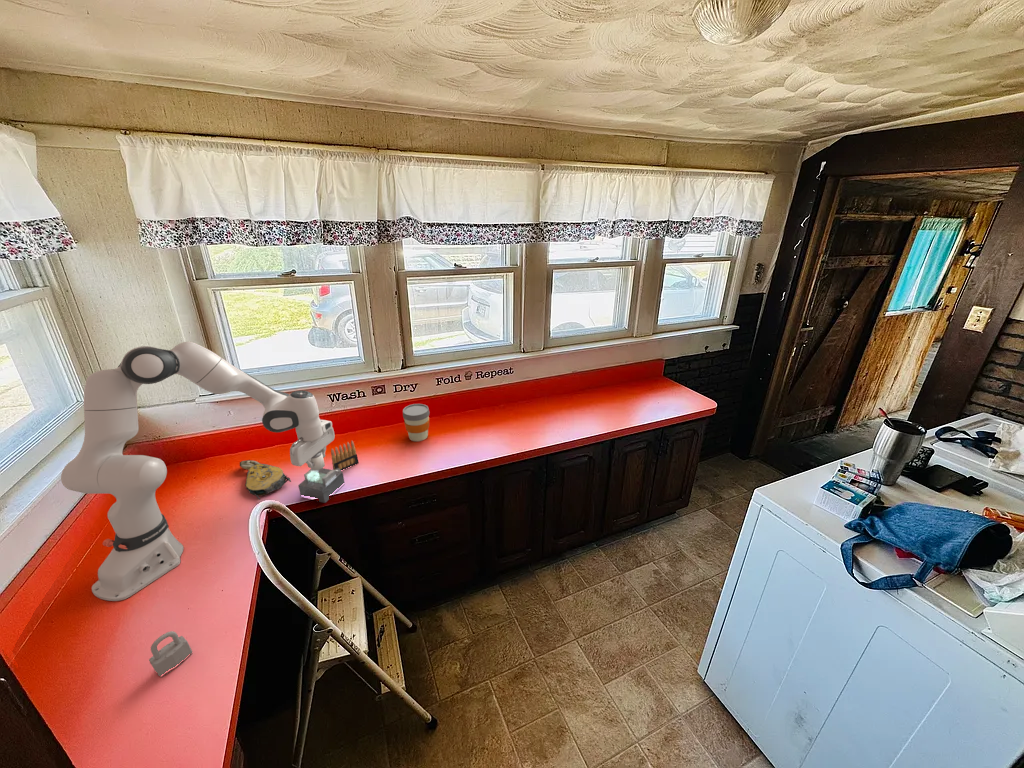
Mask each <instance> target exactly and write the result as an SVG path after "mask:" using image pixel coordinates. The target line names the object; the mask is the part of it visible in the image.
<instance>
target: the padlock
mask: <svg viewBox="0 0 1024 768" xmlns="http://www.w3.org/2000/svg"><path fill="white" fill-rule="evenodd" d="M169 637H171V638H172V641H171V642H169V643H167V644H166V645H164V646H163V647H162V648H160V649H158V645H159V644H160V643H162V642H163V641H164V640H165V639H168V638H169ZM150 646H151V647H150V652H151V654H152V656H151V657H150V658H148V661H149V664H150V665H151V666H152V668H153V670H154V672H155V671H156V672H157V673H158V674H157V673H156V672H155V673H156V674H157V675H158V677H159V676H161V675H162V674H164V673H165V672H166V671H168V670H169V669H171V668H173V667H175V666H176V665H177V664H179V663H180V662H181V661H182V660H184V659H185V658H186V657H187V656H188V655H189V654H191V653H192V652H193V650H192V648H191V646H190V644H189V642H188V640H187V639H186V638H185V637H184V636H183V635H180V636H179V635H178V633H177V632H176V631H173V630H171V631H167V632H165V633H164V634H162V635H160V636H159V637H157V639H155V640H154V642H153V643H152V644H151V645H150ZM192 654H193V653H192ZM192 654H191V655H192Z"/></svg>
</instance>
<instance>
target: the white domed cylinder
mask: <svg viewBox="0 0 1024 768" xmlns="http://www.w3.org/2000/svg"><path fill="white" fill-rule="evenodd" d="M310 462H314V466H313V467H312V468H310V469H312V470H320V469H322V468H325V460H324V458H323V454H322V452H321V451H319V452H318V453H317V454H316V455H314V456H313V457H312V458H311V461H310Z"/></svg>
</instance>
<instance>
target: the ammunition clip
mask: <svg viewBox="0 0 1024 768" xmlns="http://www.w3.org/2000/svg"><path fill="white" fill-rule="evenodd" d="M334 449H335V450H334ZM330 450H331V451H330V453H331V462H332V463H331V464H332V469H333V470H335V469H336V468H340V470H343V469H345V470H347V469H348V467H350V466H352V467H354V466H356V465H359V463H360V462H359V458H358V454H357V451H356V447H355V443H354V441H353V440H351V442H350V443H349V441H347V442H346V444H345V443H342V445H341V444H340V445H339V447H337V446H335V448H331V449H330ZM355 464H356V465H355ZM353 465H354V466H353ZM346 468H347V469H346ZM350 468H351V467H350ZM343 471H344V470H343Z"/></svg>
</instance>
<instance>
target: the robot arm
mask: <svg viewBox="0 0 1024 768" xmlns="http://www.w3.org/2000/svg"><path fill="white" fill-rule="evenodd" d="M174 375H178V376H182V377H184V378H185V379H187V380H189V381H190V382H192V383H193V384H195V385H197V386H198V387H199V388H201V389H203V390H205V391H207V392H209V393H211V394H215V395H223V394H227V393H231V392H240V393H243V394H244V395H246V396H249V397H250V398H252V399H253V400H255V401H257V402H258V403H260V404H261V405H262V406H263V408H264V411H263V414H262V418H261V422H262V426H263V428H265V429H266V430H268V431H269V432H271V433H283V432H287V431H290V430H293V429H295V432H296V435H297V440H296V441H294V442H293V443H292V444H291V446H290V448H289V457H290V458H289V459H290V463H291V465H292V466H296V467H302V466H303V465H305V464H306V465H307V468H309V469H311V468H312V467H313V466H314V462H310V461H311V458H312V457H313V456H314V455H316V454H317V453H318V452H319V451H321V452H322V454H323V459H324V458H325V457H326V451H327V446H328V445H329V444H331V443H332V442H333V441H334V440H335V431H334V427H333V422H332V421H331V420H326V419H321V418H320V415H319V414H320V411H319V407H318V402H317V399H316V397H315V395H314V394H313V393H312V392H310V391H308V390H295V391H292V392H291V393H290V394H289V393H286V392H284V391H279V390H276V389H274V388H272V387H270V386H269V385H268V384H265V383H263V382H262V381H260V380H259V379H257V378H256V377H254V376H252V375H250V374H248V373H247V372H245V371H243V370H241V369H239V368H238V367H236V366H234V365H233V364H232V363H230V362H229V361H227V360H226V359H224V358H223V357H221V356H220V355H219V354H217V353H216V352H214V351H212V350H210V349H208V348H206V347H205V346H202V345H200V344H198V343H196V342H194V341H189V340H188V341H183V342H179V343H178V344H176V345H175V346H173V348H171V349H170V350H169V349H162V348H157V347H155V346H150V345H149V346H146V345H144V346H138V347H137V346H136V347H134V348H132V349H130V350H128V351H127V352H126V353H125V354H124V356H123V358H122V359H121V362H120V363H119V365H118V366H117V367H116V368H113V369H112V368H111V369H109V368H108V369H101V370H97V371H94V372H92V373H91V374H89V375H88V376H87V378H86V381H85V385H84V386H85V387H84V394H83V413H84V414H83V415H84V416H83V417H84V438H83V442H82V445H81V447H80V449H79V452H78V454H77V455H76V456H75V457H74V458H73V459H71V460H70V461H69V462H68V463H67V464H66V465H65V466H64V468H63V469H62V471H61V475H60V481H61V484H62V485H63V486H64V488H65V489H68V491H73V492H77V493H81V494H89V495H91V494H93V495H94V494H96V495H97V494H99V495H100V494H101V495H102V494H107V495H108V494H110V495H112V496H113V497H114V498H115V499H116V501H115V502H114V503H113V504H112V505H111V506H110V508H109V509H108V511H107V519H108V520H109V523H110V525H111V526H112V528H113V531H114V533H115V534H114V540H113V539H110V538H106V539H104V540H103V541H102V545H103V547H107V548H111V547H113V548H112V549H111V551H110V553H109V554H108V555H107V556H106V558H105V559H104V561H103V562H102V563H101V565H100V566H99V567H98V569H97V579H98V580H97V581H95V583H93V584H92V586H91V592H92V594H93V595H94V596H95V597H96V598H98V599H100V600H102V601H103V600H104V601H110V602H111V601H112V602H119V601H123V600H126V599H128V598H130V597H131V596H133V595H134V594H136V593H137V592H139V591H140V590H142V589H144V588H145V587H147V586H149V585H150V584H151V583H153V582H155V581H156V580H158V579H159V578H161V577H162V576H163V575H165V574H166V573H169V572H170V571H172V570H173V569H174V568H176V567H178V566H179V565H180V563H181V556H182V554H183V552H184V545H183V543H181V542H180V541H178V539H177V538H176V537H175V535H173V534H172V531H171V530H170V528H169V527H170V526H169V522H168V520H167V519H166V517H165V515H164V514H163V513H162V512H161V510H160V508H159V504H158V503H157V499H156V498H157V497H156V491H157V489H159V488H160V487H161V486H162V484H163V483H164V482H165V480H166V479H167V474H168V469H167V466H166V463H165V461H163V460H162V459H161V458H160V457H159V458H158V457H154V456H149V455H144V454H123V450H124V447H125V444H126V443H127V442H128V441H129V440H131V439H132V438H134V437H135V436H136V435H138V433H139V429H140V427H139V426H140V425H139V414H138V413H139V411H138V400H137V398H138V391H139V388H140V387H141V386H142V385H152V384H157V383H161V382H162V381H164V380H166V379H168V378H170V377H172V376H174Z"/></svg>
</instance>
